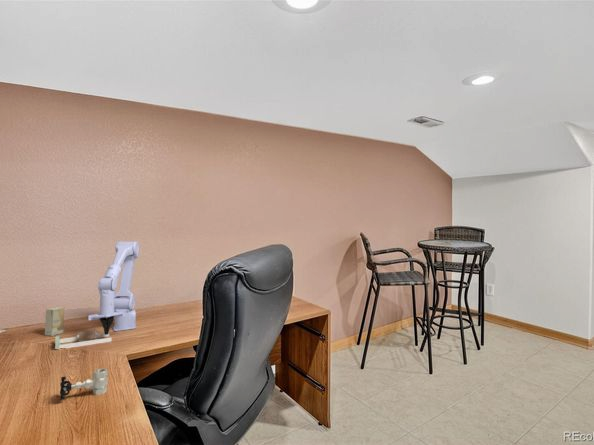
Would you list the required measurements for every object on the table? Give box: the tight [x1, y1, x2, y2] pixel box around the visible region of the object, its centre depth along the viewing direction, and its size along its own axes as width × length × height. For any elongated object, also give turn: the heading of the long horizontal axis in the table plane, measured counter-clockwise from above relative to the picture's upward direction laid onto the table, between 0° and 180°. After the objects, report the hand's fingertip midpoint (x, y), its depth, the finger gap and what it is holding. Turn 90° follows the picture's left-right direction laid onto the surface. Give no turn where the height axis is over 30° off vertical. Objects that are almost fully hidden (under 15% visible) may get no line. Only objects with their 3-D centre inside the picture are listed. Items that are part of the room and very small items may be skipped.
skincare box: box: [44, 306, 65, 337], centre depth 160 cm, size 6×4×12 cm
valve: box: [59, 368, 109, 401], centre depth 102 cm, size 7×7×12 cm
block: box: [78, 329, 96, 342], centre depth 150 cm, size 6×5×4 cm
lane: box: [54, 330, 113, 350], centre depth 151 cm, size 20×15×3 cm
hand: (106, 334), depth 154 cm, fingers closed
